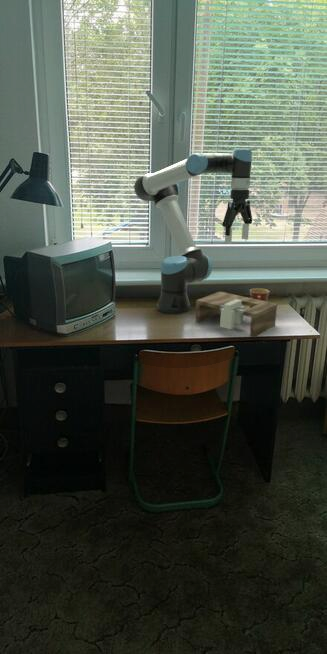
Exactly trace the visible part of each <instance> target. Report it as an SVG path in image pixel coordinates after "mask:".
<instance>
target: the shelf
mask: <svg viewBox="0 0 327 654" xmlns="http://www.w3.org/2000/svg"><path fill="white" fill-rule="evenodd" d="M235 299H239V300H242V306H248V307H249V308H248V309H244V310H242V309H238V308H236V309H234V311H235V313H237V314H241V315H243V316H245V317H249V318H250V327H249V328H250V332H249V337H252V338H255V337H257V336H259V335H260V334H262V333H264V332H267V330H270V329H271V328H273V327H275V326H276V319H277V309H278V308H277V307H278V303H275V302H271V301H267V302H266V301H262V300H257V299H253V298H251V297H246V296H244V295H243V296H242V295H238V294H233V293H228V292H225V291H220V290H219V291H217V292H214V293H211V294H209V295H205V296H204V297H201V298H198V299H197V300H195V323H201V322H203V321H206V320H208V319H210V318H213V317H215V316H218V315H219V314H220V315H221V309H223V308H224V304H226V303H228V302H230V301H233V300H235ZM250 306H252V308H250Z"/></svg>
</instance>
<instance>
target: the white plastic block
mask: <svg viewBox="0 0 327 654" xmlns="http://www.w3.org/2000/svg"><path fill="white" fill-rule="evenodd" d="M236 308H238V309H242V310H245V305H243V304H242V300H239V299H235V300H233V301H230V302H228V303H226V304H224V308H223V309H221V313H220V319H219V321H220V323H219V327H221V328H224V329H227V330H232V329H234V327H235V326H234V325H236V324H237V325H242V324H244V315H241V314H237V313H235V311H234V309H236Z"/></svg>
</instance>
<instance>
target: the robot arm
mask: <svg viewBox="0 0 327 654" xmlns="http://www.w3.org/2000/svg"><path fill="white" fill-rule="evenodd" d="M252 153H253V151H252V149H251V148H234V149H233V150H232V153H225V152H224V153H223V152H222V153H221V152H215V153H214V152H213V153H212V152H211V153H209V152H208V153H206V152H205V153H204V152H203V153H202V152H194V153H191V154H189V155H188V157H187V158H186V159H184V160H181V161H179V162H177V163H174V164H172V165H170V166H168V167H165V168H163V169H161V170H158V171H155V172H154V173H151V172H147V173H146V174H143V175H141V176H139V177H138V178H137V179H136V180H135V182H134V184H133V185H134V186H133V188H134V189H133V190H134V193H135V195H136V197H137V198H139V199H140V200H142V201H145V202H153V203H154V205H155V208H157V209H159V210H160V212H161V214H162V216H163V219H164V221H165V223H166V226H167V228H168V230H169V233H170V236H171V238H172V240H173V242H174V245H175V247H176V249H177V253H178V255H175V256H174V255H172V256H168V257H166V258H164V259H163V260H162V262H161V267H160V272H161V273H160V287H161V288H160V294H159V297H158V300H157V303H156V309H157V310H158V311H159V312H162V313H165V314H182V313H187V312H189V311H190V310H191V302H190V300H189V296H188V293H187V291H188V290H187V288H188V285H190V284H193V283H197V282H201V281H202V282H203V281H204V280H207V279H208V278H209V277H210V276H211V274H212V271H213V263H212V260H211V258H210V257H209V256H208V255H206V254H203V252H202V249H201V248H199V247H197V245H196V243H195V240H194V238H193V236H192V234H191V232H190V229H189V227H188V224H187V222H186V220H185V217H184V215H183V212H182V209H181V208H180V205H179V203H178V200H179V198H180V196H179V194H180V185H179V184H180V183H182V182H183V181H187V180H189V179H192V178H195V177H197V176H199V175H203V174H216V173H217V174H222V173H223V174H224V173H225V174H226V173H227V174H231V182H230V188H231V189H230V199H231V200H232V201H228V202H227V207H226V211H225V215H224V218H223V221H222V223H221V224H222V228H225V230H224V231H225V233H224V234H225V235H224V244H230V245H231V244H232V241H233V239H232V238H233V226H232V225H233V224H234V221H235V220H236V217H237V215H238V214H240V216H241V218H242V221H243V223H242V227H241V228H242V229H241V230H242V231H241V239H242V240H249V231H250V225H251V224H252V223H253V216H252V210H251V201H250V200H249V198H250V190H249V188H250V184H251V170H252V169H251V168H252V161H253V158H252V157H253V156H252Z"/></svg>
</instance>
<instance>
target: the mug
mask: <svg viewBox="0 0 327 654" xmlns="http://www.w3.org/2000/svg"><path fill="white" fill-rule="evenodd" d="M270 293H271V292H270V290H268V289H267V288H266V289H265V288H260V287H256V288H251V289H249V295H250V298H253V299H257V300H262V301H266V302H268V299H269V298H268V297H269V296H270V295H269V294H270ZM249 308H252V306H249Z"/></svg>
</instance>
